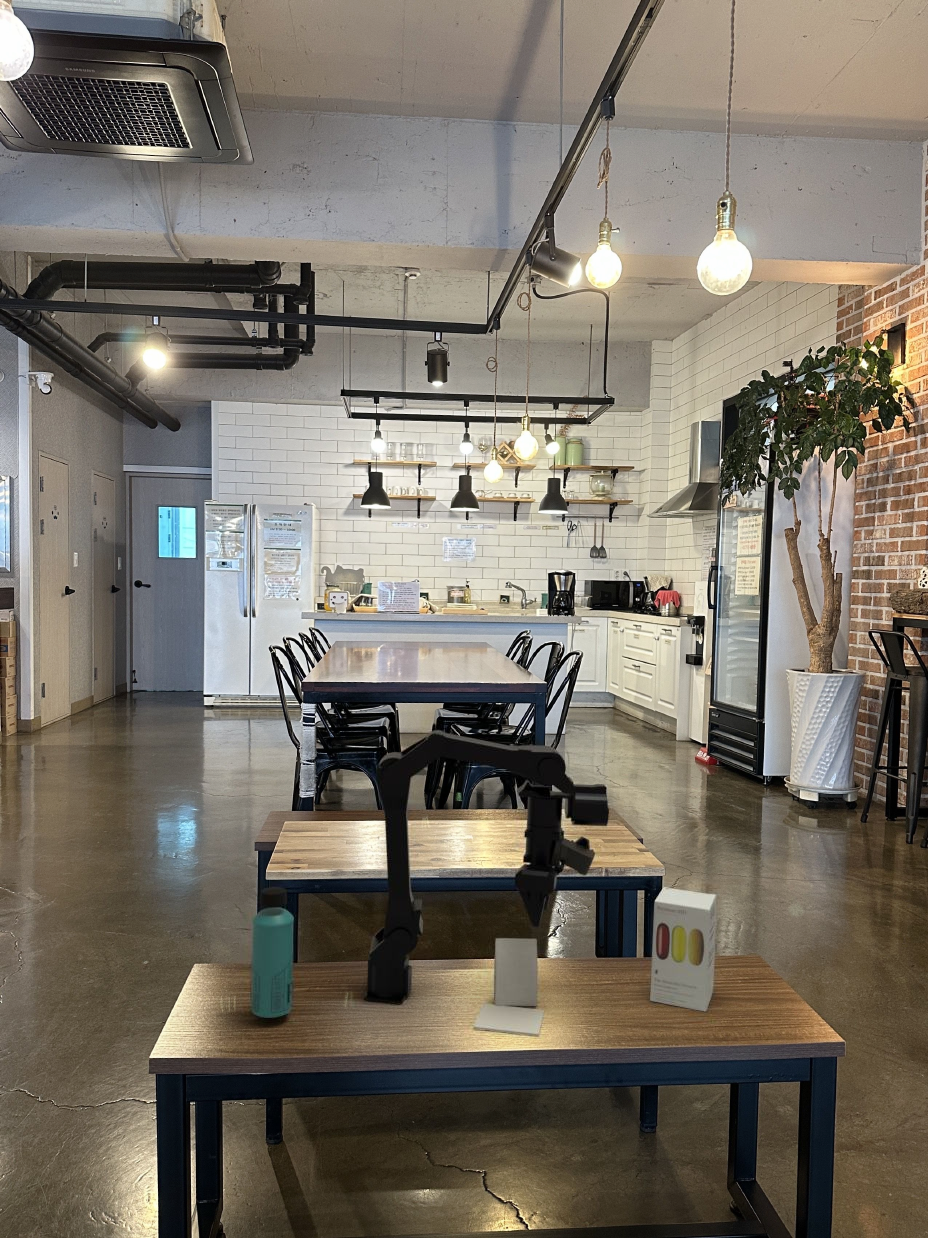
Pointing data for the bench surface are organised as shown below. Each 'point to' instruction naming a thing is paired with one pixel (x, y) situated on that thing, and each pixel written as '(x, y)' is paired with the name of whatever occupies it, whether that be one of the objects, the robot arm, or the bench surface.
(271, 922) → the beverage bottle
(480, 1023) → the mat
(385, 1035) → the bench surface
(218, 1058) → the bench surface
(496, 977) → the white printed box
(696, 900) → the supplement box
